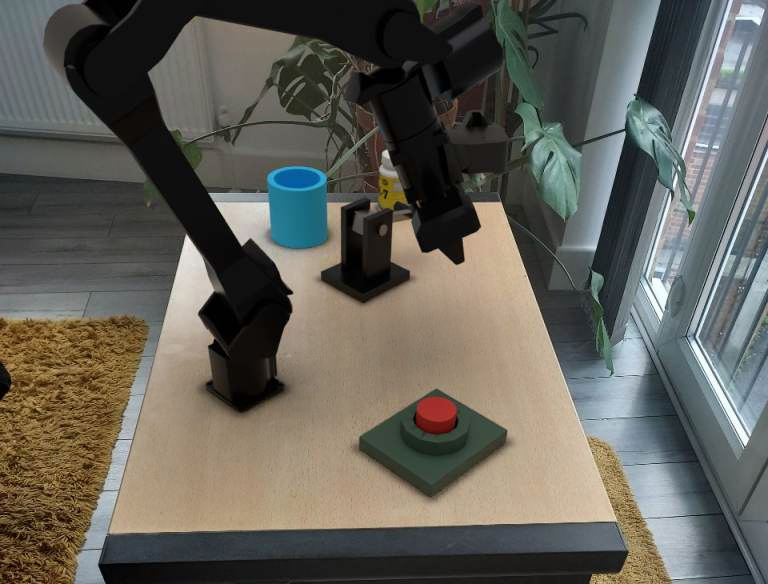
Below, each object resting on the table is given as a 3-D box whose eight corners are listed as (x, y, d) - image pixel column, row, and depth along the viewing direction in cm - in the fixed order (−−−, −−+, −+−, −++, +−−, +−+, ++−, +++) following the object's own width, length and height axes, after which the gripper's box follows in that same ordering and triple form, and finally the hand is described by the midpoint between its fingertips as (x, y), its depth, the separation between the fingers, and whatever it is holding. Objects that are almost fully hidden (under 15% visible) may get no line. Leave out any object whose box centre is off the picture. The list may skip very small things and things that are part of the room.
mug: (331, 246, 112) (330, 189, 106) (274, 250, 111) (270, 192, 105) (320, 209, 120) (318, 154, 114) (266, 211, 119) (262, 156, 113)
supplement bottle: (373, 205, 122) (374, 149, 116) (401, 201, 123) (404, 145, 117) (384, 218, 119) (386, 161, 113) (413, 214, 120) (416, 158, 114)
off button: (437, 440, 78) (438, 426, 77) (407, 422, 80) (408, 408, 79) (463, 422, 80) (464, 409, 79) (433, 405, 82) (435, 391, 81)
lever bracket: (368, 257, 110) (369, 188, 103) (410, 279, 106) (414, 208, 99) (320, 279, 105) (318, 208, 98) (362, 303, 102) (364, 230, 95)
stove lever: (398, 214, 108) (401, 196, 107) (431, 229, 106) (434, 211, 104) (341, 224, 101) (343, 206, 100) (374, 241, 99) (377, 222, 97)
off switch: (430, 497, 77) (433, 471, 74) (358, 448, 82) (359, 422, 79) (505, 442, 83) (510, 416, 81) (435, 400, 88) (437, 374, 85)
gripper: (508, 123, 69) (550, 273, 79) (470, 62, 82) (511, 198, 92) (391, 176, 71) (447, 316, 81) (372, 109, 84) (423, 236, 95)
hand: (460, 262), depth 87 cm, fingers closed
